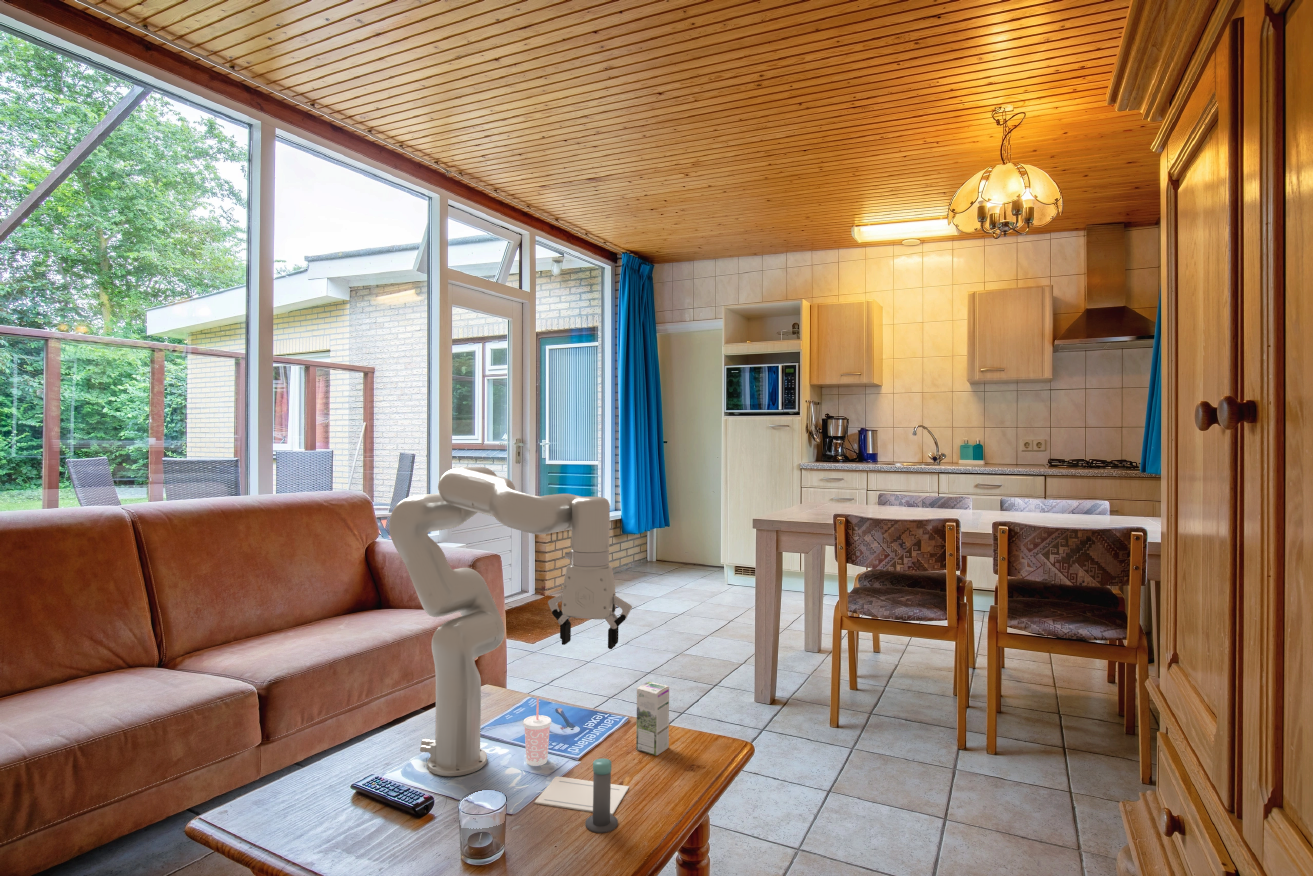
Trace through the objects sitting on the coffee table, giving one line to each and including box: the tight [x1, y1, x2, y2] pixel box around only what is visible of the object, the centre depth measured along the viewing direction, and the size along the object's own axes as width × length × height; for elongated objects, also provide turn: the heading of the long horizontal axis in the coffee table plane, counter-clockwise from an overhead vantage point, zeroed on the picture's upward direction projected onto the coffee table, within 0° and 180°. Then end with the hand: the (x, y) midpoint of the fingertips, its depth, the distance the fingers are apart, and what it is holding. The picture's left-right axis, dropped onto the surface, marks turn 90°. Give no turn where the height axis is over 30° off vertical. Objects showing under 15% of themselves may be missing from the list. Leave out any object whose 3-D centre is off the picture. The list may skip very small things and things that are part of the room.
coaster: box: [584, 814, 619, 834], centre depth 132 cm, size 6×6×1 cm
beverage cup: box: [522, 697, 552, 767], centre depth 158 cm, size 6×6×14 cm
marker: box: [592, 758, 612, 827], centre depth 132 cm, size 3×3×11 cm
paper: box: [534, 776, 630, 816], centre depth 143 cm, size 16×11×1 cm
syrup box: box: [635, 681, 670, 756], centre depth 165 cm, size 6×6×14 cm
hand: (588, 645), depth 142 cm, fingers open, 9 cm apart
